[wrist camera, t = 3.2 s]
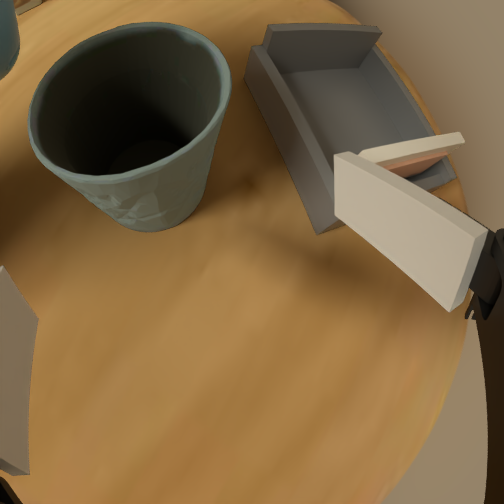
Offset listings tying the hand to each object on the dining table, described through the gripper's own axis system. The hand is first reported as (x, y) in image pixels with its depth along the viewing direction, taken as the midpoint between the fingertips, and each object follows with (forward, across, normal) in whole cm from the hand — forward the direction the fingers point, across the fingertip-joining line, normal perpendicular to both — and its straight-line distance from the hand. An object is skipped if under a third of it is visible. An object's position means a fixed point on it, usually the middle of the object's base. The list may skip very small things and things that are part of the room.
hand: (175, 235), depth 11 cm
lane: (+14, +18, -3) cm, 23 cm away
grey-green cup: (+14, 0, -3) cm, 15 cm away
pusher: (+9, +18, -6) cm, 21 cm away
